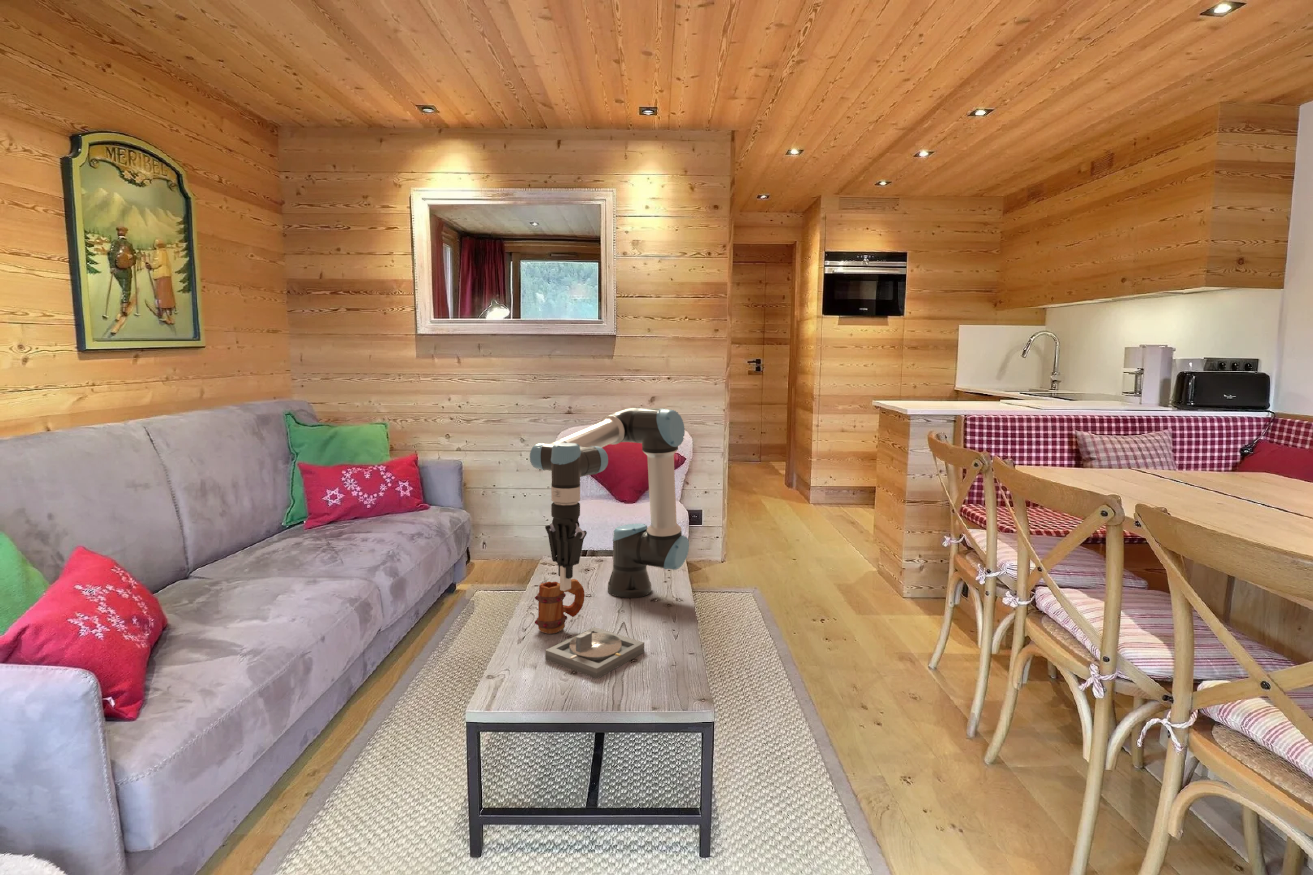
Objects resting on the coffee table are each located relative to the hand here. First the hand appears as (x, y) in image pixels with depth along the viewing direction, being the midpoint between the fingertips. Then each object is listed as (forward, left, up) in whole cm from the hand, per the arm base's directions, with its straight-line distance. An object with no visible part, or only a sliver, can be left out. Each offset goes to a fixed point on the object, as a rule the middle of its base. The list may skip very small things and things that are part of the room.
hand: (565, 589), depth 182 cm
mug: (-12, -14, -19) cm, 27 cm away
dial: (-5, +6, -17) cm, 19 cm away
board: (-5, +6, -19) cm, 20 cm away
